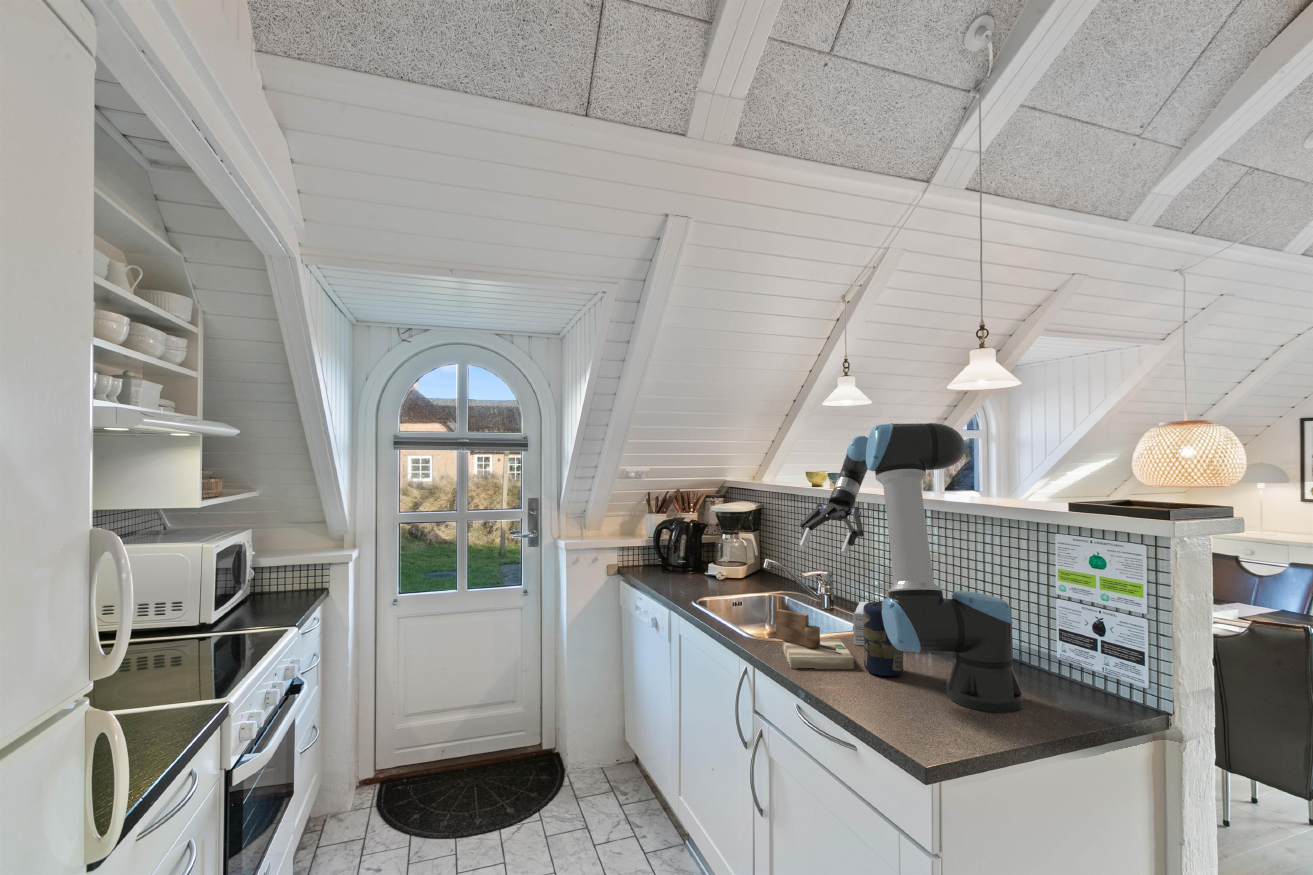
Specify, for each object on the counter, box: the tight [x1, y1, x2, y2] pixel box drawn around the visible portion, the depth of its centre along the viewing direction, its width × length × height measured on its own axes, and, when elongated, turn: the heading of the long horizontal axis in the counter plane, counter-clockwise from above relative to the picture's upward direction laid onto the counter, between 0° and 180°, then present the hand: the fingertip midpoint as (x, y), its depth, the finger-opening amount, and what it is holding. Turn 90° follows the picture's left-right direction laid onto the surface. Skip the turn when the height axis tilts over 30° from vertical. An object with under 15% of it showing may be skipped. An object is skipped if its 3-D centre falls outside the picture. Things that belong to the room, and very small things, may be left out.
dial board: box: [782, 638, 855, 670], centre depth 168 cm, size 16×16×3 cm
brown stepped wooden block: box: [775, 608, 836, 651], centre depth 169 cm, size 18×4×8 cm, turn 46°
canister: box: [863, 600, 905, 677], centre depth 157 cm, size 10×10×18 cm
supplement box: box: [853, 601, 871, 647], centre depth 185 cm, size 17×13×9 cm
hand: (822, 550), depth 186 cm, fingers open, 13 cm apart
